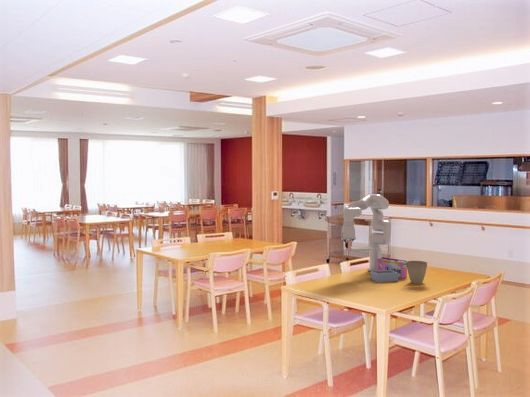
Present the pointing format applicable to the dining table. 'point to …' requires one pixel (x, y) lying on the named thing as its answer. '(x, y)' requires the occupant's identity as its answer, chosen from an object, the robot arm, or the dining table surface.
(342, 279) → the dining table surface
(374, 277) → the tub
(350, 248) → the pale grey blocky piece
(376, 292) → the dining table surface
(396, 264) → the gum box
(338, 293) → the dining table surface
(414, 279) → the plant pot
